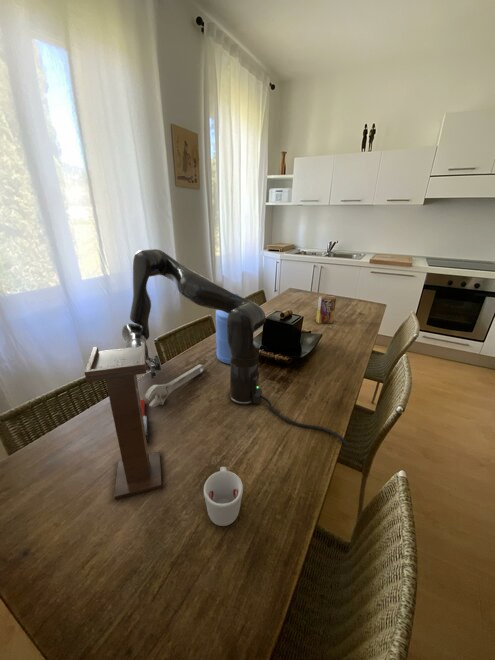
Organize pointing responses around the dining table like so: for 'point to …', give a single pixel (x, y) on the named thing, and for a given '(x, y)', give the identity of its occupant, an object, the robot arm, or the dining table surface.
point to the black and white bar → (144, 419)
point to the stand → (127, 417)
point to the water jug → (222, 337)
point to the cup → (223, 496)
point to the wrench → (171, 386)
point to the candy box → (326, 309)
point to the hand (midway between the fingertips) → (138, 377)
